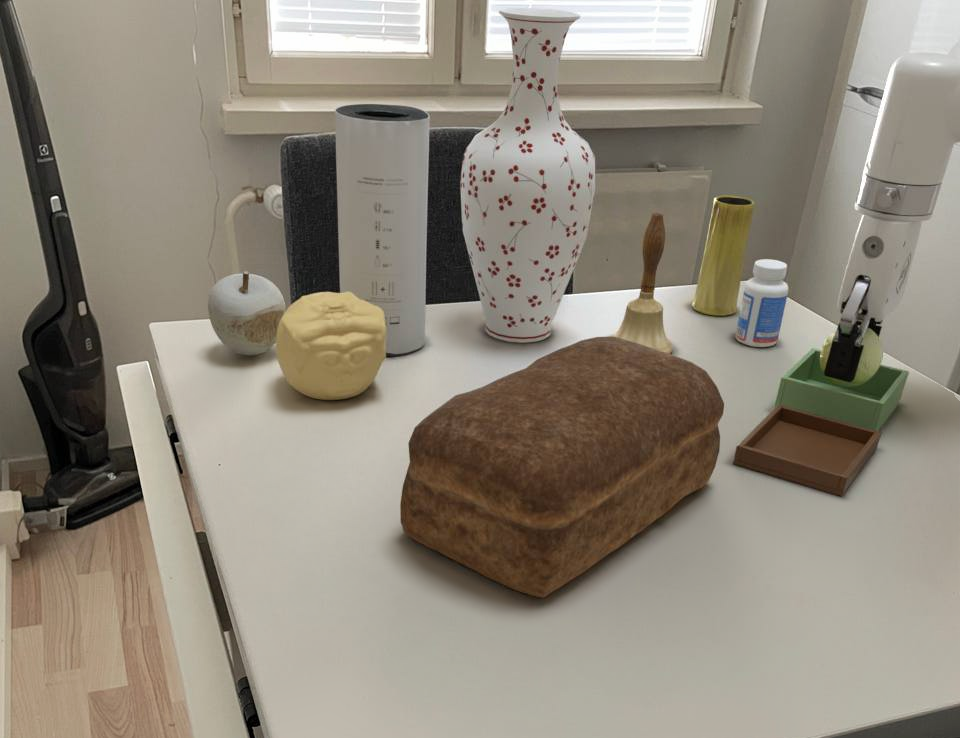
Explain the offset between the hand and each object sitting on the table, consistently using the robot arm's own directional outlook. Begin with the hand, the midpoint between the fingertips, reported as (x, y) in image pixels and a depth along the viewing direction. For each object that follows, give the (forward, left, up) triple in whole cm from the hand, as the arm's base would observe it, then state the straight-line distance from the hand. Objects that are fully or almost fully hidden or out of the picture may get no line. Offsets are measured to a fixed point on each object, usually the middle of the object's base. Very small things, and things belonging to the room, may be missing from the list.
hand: (848, 366), depth 110 cm
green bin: (0, 0, -5) cm, 5 cm away
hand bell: (+26, -3, -5) cm, 27 cm away
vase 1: (+41, +2, -5) cm, 41 cm away
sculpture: (+48, +31, -5) cm, 58 cm away
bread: (+14, +39, -5) cm, 42 cm away
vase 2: (+24, -23, -5) cm, 33 cm away
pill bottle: (+15, -15, -5) cm, 22 cm away
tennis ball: (0, 0, -2) cm, 2 cm away
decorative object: (+62, +29, -5) cm, 69 cm away
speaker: (+52, +16, -5) cm, 55 cm away
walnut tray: (-1, +14, -5) cm, 15 cm away
